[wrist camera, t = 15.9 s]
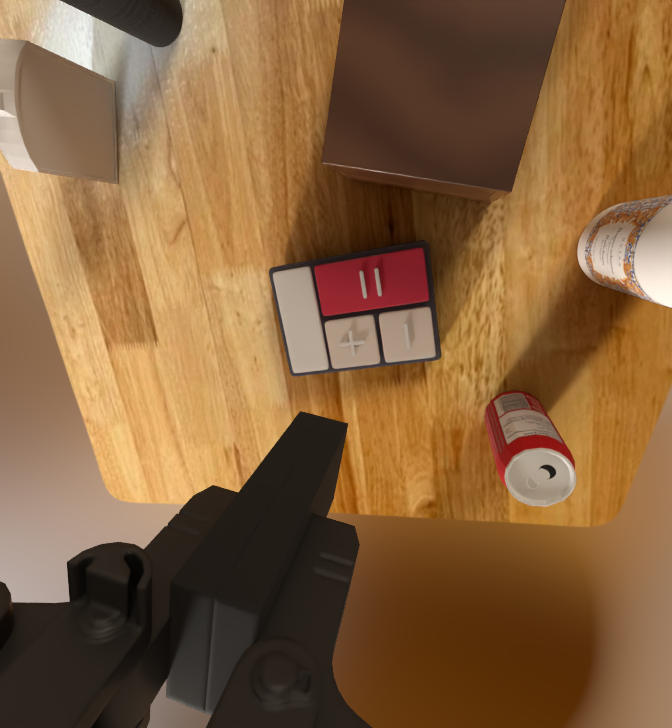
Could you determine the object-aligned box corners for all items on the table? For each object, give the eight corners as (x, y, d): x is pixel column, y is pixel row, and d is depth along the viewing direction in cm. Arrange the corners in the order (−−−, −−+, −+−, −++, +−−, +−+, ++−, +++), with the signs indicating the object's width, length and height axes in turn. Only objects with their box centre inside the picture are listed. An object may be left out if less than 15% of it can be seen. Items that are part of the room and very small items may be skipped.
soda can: (506, 448, 43) (530, 524, 32) (472, 409, 42) (485, 472, 31) (554, 419, 41) (598, 489, 30) (520, 378, 40) (552, 433, 29)
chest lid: (368, -149, 24) (366, -161, 23) (604, -143, 22) (610, -156, 21) (324, 164, 29) (321, 162, 29) (509, 193, 27) (511, 192, 27)
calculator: (442, 362, 38) (288, 380, 41) (439, 350, 42) (299, 367, 45) (429, 239, 35) (264, 268, 38) (427, 239, 39) (278, 265, 42)
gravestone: (95, 180, 44) (-110, 150, 28) (90, 79, 41) (-145, -25, 25) (118, 184, 44) (-78, 155, 27) (114, 81, 41) (-109, -23, 24)
